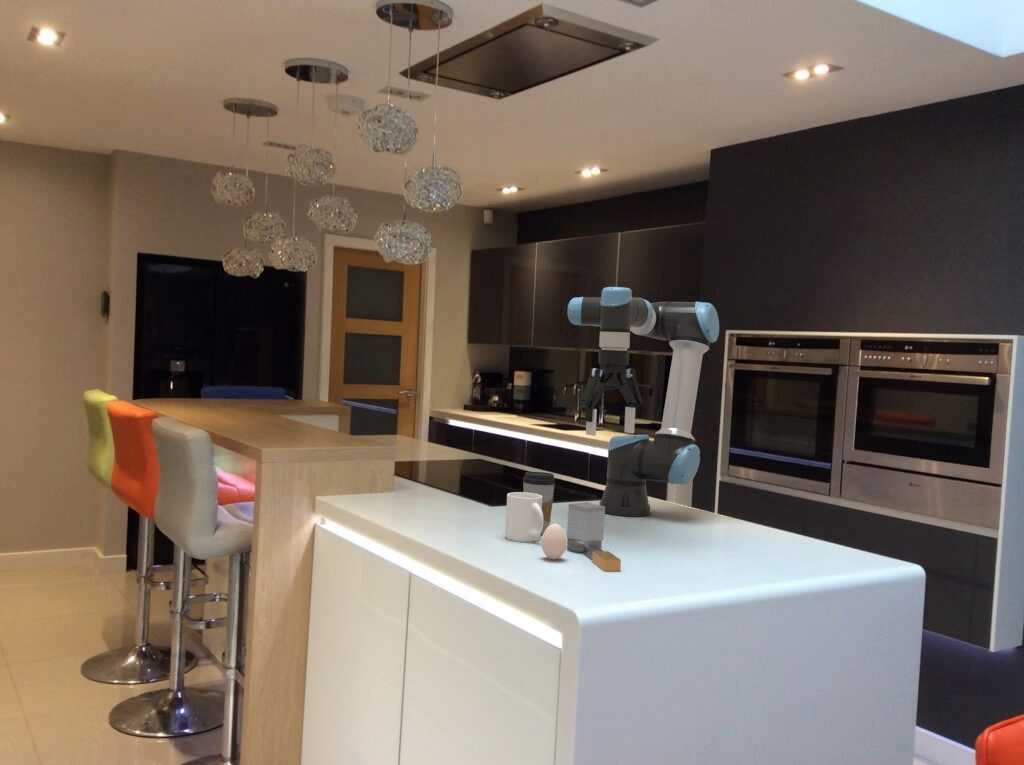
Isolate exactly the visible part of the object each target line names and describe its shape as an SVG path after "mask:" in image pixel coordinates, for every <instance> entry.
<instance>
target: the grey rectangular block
mask: <svg viewBox="0 0 1024 765" xmlns="http://www.w3.org/2000/svg"><path fill="white" fill-rule="evenodd" d="M605 516H606V513H605V507H604V506H600V505H599V504H596V503H592V502H587V501H586V502H576V503H568V511H567V526H566V539H567V538H569V539H572V540H576V541H579V542H582V543H588V542H597V541H602V542H603V541H604V534H605V533H604V531H605V530H604V529H605V518H606V517H605Z"/></svg>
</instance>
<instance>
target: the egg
mask: <svg viewBox="0 0 1024 765" xmlns="http://www.w3.org/2000/svg"><path fill="white" fill-rule="evenodd" d="M541 549H542V552H543V554H544V556H545V557H547V559H549V560H557V559H560V558H561V557H562V556H563V554H565V553H566V552H565V551H566V550H567V534H566V533H565V531H564V528H563V527H562V526H561V525H560V524H559V523H552V524H550V525H549V526H548V527H547V529H546V530H545V532H544V534H543V535H541Z"/></svg>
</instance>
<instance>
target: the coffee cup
mask: <svg viewBox="0 0 1024 765" xmlns="http://www.w3.org/2000/svg"><path fill="white" fill-rule="evenodd" d="M522 478H523V480H522V484H523V491H522V492H525V493H534V494H539V495H542V512H543V519H544V521H543V529H542V532H541V534H540V536H543V534H544V532H545V530H546V529H547V527H548V526H549V525H551V524H550V523H551V517H552V509H553V501H554V493H555V485H556V478H555V475H554V474H553V473H550V472H543V471H526V472H524V476H523V477H522ZM541 525H542V522H541Z"/></svg>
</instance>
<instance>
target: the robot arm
mask: <svg viewBox="0 0 1024 765" xmlns="http://www.w3.org/2000/svg"><path fill="white" fill-rule="evenodd" d="M632 294H633V293H632V289H631V288H630V287H621V286H620V287H619V286H608V287H604V288H603V289H602V290H601V296H600V297H598V296H597V297H596V296H595V297H593V296H591V297H590V296H588V297H587V296H586V297H585V296H580V297H573V298H572V299H570V301H569V303H568V304H567V313H566V314H567V318H568V320H569V323H570V324H572V325H575V326H592V327H600V328H599V340H598V341H599V342H598V343H599V344H598V347H599V348H601V349H600V350H598V361H597V362H598V364H599V365H600V368H593V367H592V368H590V369H589V375H588V376H589V377H588V379H587V382H586V385H585V387H584V389H583V392H582V394H581V396H580V399H579V401H578V405H579V406H581V408H583V409H585V410H584V412H585V413H584V421H585V424H586V426H585V435H587V436H593V437H596V435H597V416H598V415H597V414H598V411H597V408H595V407H596V406H597V404H598V403H599V401H600V400H601V398H602V396H603V395H604V393H605V391H606V390H607V389H609V388H612V387H613V388H614V387H616V388H618V390H619V392H620V394H621V396H622V398H623V399H624V400H625V402H626V404H627V406H625V411H624V413H625V414H624V433H627V434H628V433H629V435H627V434H626V435H614V436H612V437H611V438H610V439H609V443H608V449H607V467H606V468H607V470H606V471H607V472H606V485H605V487H604V491H603V493H602V497H601V500H600V501H599V504H598V505H600V506H604V507H605V514H608V515H614V516H622V517H647V516H649V515H650V514H651V505H650V504H649V503H650V502H649V496H648V493H647V481H652V482H653V481H654V482H658V483H659V482H661V483H668V484H671V485H675V484H676V485H677V484H678V485H687V484H688V483H690V482H691V481H692V480H693V479H694V478H695V476H696V475H697V472H698V469H699V466H700V461H701V456H700V455H701V450H700V448H699V447H698V445H696V444H695V443H696V439H695V437H694V436H693V435H692V428H693V427H692V426H693V420H694V414H695V407H696V401H697V395H698V388H699V383H700V382H699V381H700V376H701V375H700V374H701V369H702V362H703V355H704V354H705V353H706V352H708V351H710V344H711V343H712V344H713V343H715V342H716V341H718V338H719V335H720V320H719V316H718V312H717V309H716V308H715V306H714V305H713V304H712V303H710V302H703V301H659V302H650V301H649V300H646V299H644V298H642V297H633V296H632ZM631 332H632V333H633V334H634V335H638V336H643V337H647V338H650V339H651V338H652V339H656V340H661V341H669V342H668V344H669V346H670V347H671V348H672V358H671V365H670V369H669V370H670V371H669V376H668V383H667V390H666V395H665V396H666V397H665V402H664V408H663V415H662V421H661V427H660V429H659V430H657V431H655V433H654V438H653V440H651V439H650V436H649V435H648V434H634V433H635V422H636V418H637V409H640V408H641V405H642V406H643V403H644V401H643V397H642V394H641V391H640V388H639V384H638V381H637V376H636V375H637V374H636V369H635V368H629V367H628V368H627V366H628V365H629V363H630V362H629V361H630V352H629V350H628V349H630V344H631V342H630V341H631V340H630V339H631V338H630V337H631ZM631 434H632V435H631Z"/></svg>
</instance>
